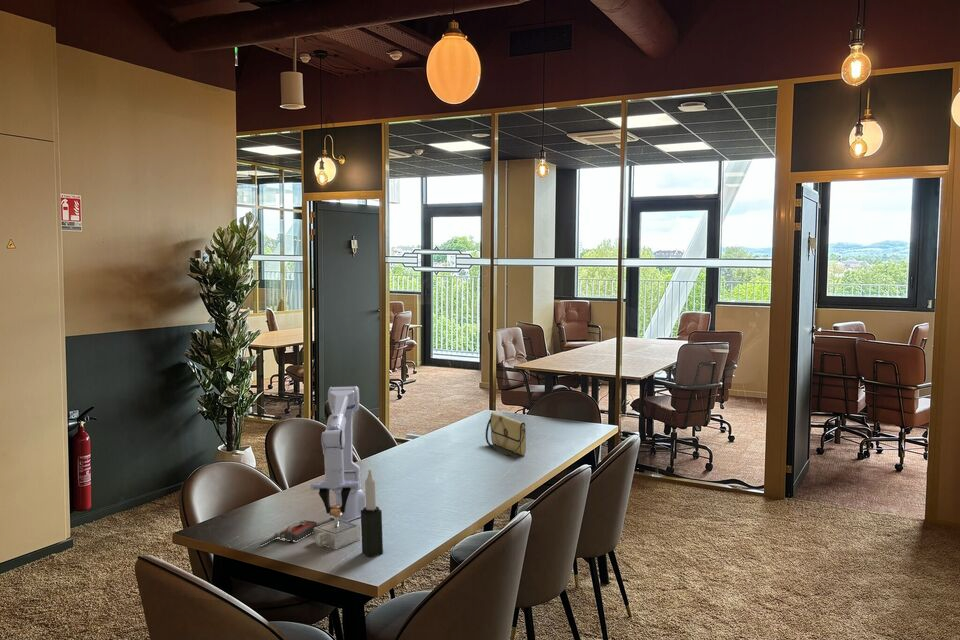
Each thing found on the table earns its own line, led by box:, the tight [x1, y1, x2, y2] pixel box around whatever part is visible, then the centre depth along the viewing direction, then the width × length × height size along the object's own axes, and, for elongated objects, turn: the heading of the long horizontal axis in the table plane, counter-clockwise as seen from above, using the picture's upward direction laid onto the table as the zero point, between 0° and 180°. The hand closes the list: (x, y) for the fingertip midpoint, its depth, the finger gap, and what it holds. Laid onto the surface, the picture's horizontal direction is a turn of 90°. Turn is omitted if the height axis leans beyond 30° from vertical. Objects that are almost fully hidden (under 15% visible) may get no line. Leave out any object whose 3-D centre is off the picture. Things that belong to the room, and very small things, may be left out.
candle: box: [360, 469, 384, 558], centre depth 216 cm, size 5×5×25 cm
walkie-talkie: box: [259, 519, 318, 546], centre depth 230 cm, size 9×4×20 cm
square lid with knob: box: [318, 504, 355, 534], centre depth 226 cm, size 8×8×7 cm
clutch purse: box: [485, 412, 527, 456], centre depth 331 cm, size 30×7×15 cm, turn 29°
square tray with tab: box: [312, 519, 361, 550], centre depth 226 cm, size 12×10×4 cm
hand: (336, 512), depth 226 cm, fingers closed on square lid with knob, 4 cm apart
